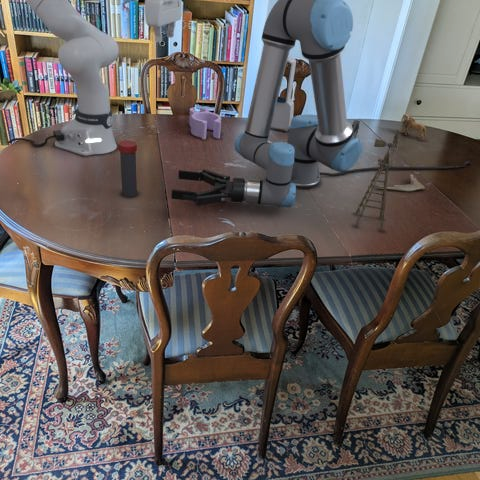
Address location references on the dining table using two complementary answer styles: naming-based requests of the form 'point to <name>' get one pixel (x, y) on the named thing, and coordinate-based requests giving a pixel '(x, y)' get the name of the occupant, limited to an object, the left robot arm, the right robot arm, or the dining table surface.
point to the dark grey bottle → (128, 174)
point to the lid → (127, 146)
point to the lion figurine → (413, 126)
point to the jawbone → (414, 185)
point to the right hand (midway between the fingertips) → (175, 184)
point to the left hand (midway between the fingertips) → (164, 39)
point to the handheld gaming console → (355, 127)
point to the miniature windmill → (382, 163)
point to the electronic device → (285, 103)
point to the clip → (204, 123)
